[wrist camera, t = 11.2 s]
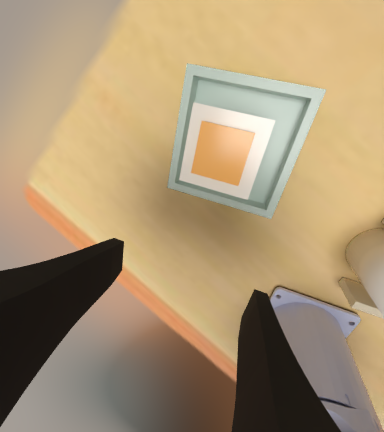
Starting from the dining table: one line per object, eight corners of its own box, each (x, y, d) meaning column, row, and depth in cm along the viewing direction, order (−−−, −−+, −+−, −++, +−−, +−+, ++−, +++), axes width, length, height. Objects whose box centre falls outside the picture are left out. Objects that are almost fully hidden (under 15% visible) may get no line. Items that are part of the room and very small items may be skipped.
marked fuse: (251, 173, 17) (247, 202, 11) (206, 161, 18) (176, 181, 12) (268, 122, 16) (276, 120, 9) (217, 111, 16) (190, 101, 10)
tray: (269, 210, 19) (271, 219, 17) (175, 182, 20) (167, 187, 18) (318, 94, 15) (326, 89, 13) (194, 70, 16) (187, 63, 14)
